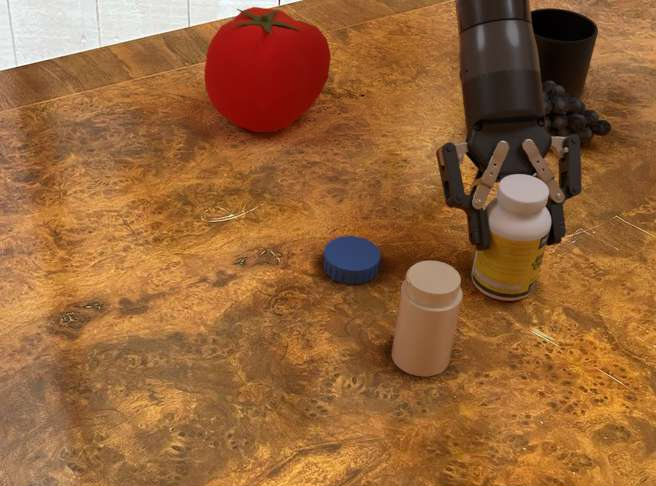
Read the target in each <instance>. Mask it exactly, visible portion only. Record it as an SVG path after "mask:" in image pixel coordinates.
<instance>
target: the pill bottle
mask: <svg viewBox="0 0 656 486" xmlns="http://www.w3.org/2000/svg"><path fill="white" fill-rule="evenodd" d="M548 196H549V189H548V187H547V185H546V184H545V183H544V182H543V181H541V180H540V179H538V178H536V177H533V176H530V175H524V174H513V175H509V176H506V177H504V178H503V179H502V180H501V181H500V182H498V187H497V191H496V197H495V198H493V199H492V200H490V201H489V202H488V204H486V206H485V207H484V210H487V217H488V227H489V236H490V249H488V250H485V251H477V250H476V249H475V254H474V260H473V263H472V264H473V265H472V267H471V268H472V269H471V280H472V282H473V284H474V286H475V287H476V288H477V290H478V291H480V292H481V293H483V294H484V295H486V296H487V297H489V298H492V299H495V300H498V301H506V302H511V301H512V302H514V301H518V300H523V299H525V298H526V297H528V296H529V295H531V294H532V293H533V292H534V290H535V288H536V286H537V282H538V278H539V275H540V271H541V266H542V262H543V259H544V254H545V250H546V246H547V245H546V243H547V239H548V236H549V232H550V228H551V216H550V213H549V211H548V210H547V208H546V207H545V206H546V204H547V200H548Z"/></svg>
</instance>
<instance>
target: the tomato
mask: <svg viewBox="0 0 656 486" xmlns="http://www.w3.org/2000/svg"><path fill="white" fill-rule="evenodd" d="M236 10H237V11H239V13H238V14H237V16H235V17H234V19H231V20H230V21H227V22H225V23H224V24H222V25H221V26H220V27H219V29H218V30H217V31H216V33H215V35H214V36H213V37H212V39H211V41H210V43H209V45H208V48H207V52H206V59H205V66H204V86H205V92H206V94H207V96H208V99H209V101H210V102H211V104H212V105H213V107H214V108H215V110H216V111H217V112H218V113H219V114H220V116H222V117H223V118H225V119H226V120H228V121H229V122H230V123H232V124H234V125H235V126H236V127H239V128H242V129H245V130H248V131H251V132H253V133H272V132H276V131H280V130H282V129H284V128H287V127H289V126H290V125H292V123H294V122H295V121H296V120H298V119H299V118H300V117H301V116H303V115H304V114H305V113H306V112H307V111H308V110H310V109H311V108H312V107H313V105H314V104H315V102H316V101H317V99H318V98H319V96H320V95H321V93H322V91H323V89H324V87H325V85H326V83H327V81H328V79H329V73H330V65H331V50H330V45H329V43H328V39H327V37H326V36H325V35H324V34H323V32H322V31H321V30H320V29H319V27H317V25H314V24H311V23H308V22H305V21H302V20H296V19H295V18H293V17H291V16H290V15H289V14H288V13H286V12H285V11H283V10H281V9H273V8H265V7H258V6H252V7H250V8H249V7H248V8H245V9H243V10H242V9H239V8H236Z"/></svg>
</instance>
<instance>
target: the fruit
mask: <svg viewBox="0 0 656 486" xmlns="http://www.w3.org/2000/svg"><path fill="white" fill-rule="evenodd" d="M542 93H543V101H544V110H545V126H546V129H547V131H548V132H549V134H550V135H551V137H568V136H570V135H572V134H576V135H578V136H579V138H580V143H584V144H586V143H590V142H591V141H592V139H594V136H599V137H605V136H608V135H609V134H610V133H611V131H612V125H611V123H610V122H609V121H608V120H607V119H599V118H600V116H599V114H598V112H597V111H596V110H594V109H586V105H585V102H584V101H582V100H581V99H580V98H579V99H578V98H577V97H570V95H569V94H568V93H565V90H564V88H563V87H562V86H560V85H556V84H555V82H553V81H546V82H545V83H544V84H542Z"/></svg>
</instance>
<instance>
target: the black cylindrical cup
mask: <svg viewBox="0 0 656 486" xmlns="http://www.w3.org/2000/svg"><path fill="white" fill-rule="evenodd" d="M530 11H531V19H532V27H533V32H534V36H535V40H536V44H537V49H538V57H539V66H540V75H541V83H542V84H544V83H545V82H546V81H553V82H555V84H556V85H560V86H562V87H563V88H564V90H565V93H568V94H569V95H570V97H577V98H578V99H579V100H580V98H582V96H583V93H584V90H585V85H586V80H587V77H588V75H589V74H588V73H589V70H590V65H591V61H592V57H593V55H594V49H595V46H596V43H597V38H598V34H599V28H598V26H597V24H596V23H595V22H594V21H593V20H592V19H591V18H589V17H587V16H586V15H584V14H581V13H579V12H576V11H573V10H568V9H564V8H552V7H551V8H550V7H546V8H537V9H533V10H530Z"/></svg>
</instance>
